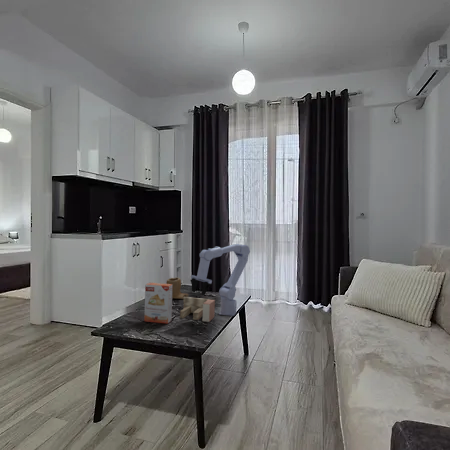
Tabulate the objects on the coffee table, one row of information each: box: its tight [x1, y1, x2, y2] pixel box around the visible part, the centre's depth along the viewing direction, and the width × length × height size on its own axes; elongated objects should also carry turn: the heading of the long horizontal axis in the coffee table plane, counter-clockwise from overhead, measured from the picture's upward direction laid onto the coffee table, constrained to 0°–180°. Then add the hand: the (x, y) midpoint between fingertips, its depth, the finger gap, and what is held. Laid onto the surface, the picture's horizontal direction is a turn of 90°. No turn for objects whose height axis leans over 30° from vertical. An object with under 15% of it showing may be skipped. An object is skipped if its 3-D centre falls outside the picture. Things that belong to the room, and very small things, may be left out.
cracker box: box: [143, 282, 173, 325], centre depth 177 cm, size 14×6×21 cm, turn 79°
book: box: [202, 298, 216, 323], centre depth 184 cm, size 4×10×10 cm, turn 165°
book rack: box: [179, 296, 209, 321], centre depth 189 cm, size 16×14×9 cm
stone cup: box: [165, 276, 189, 300], centre depth 230 cm, size 15×12×15 cm
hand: (198, 293), depth 185 cm, fingers open, 7 cm apart
